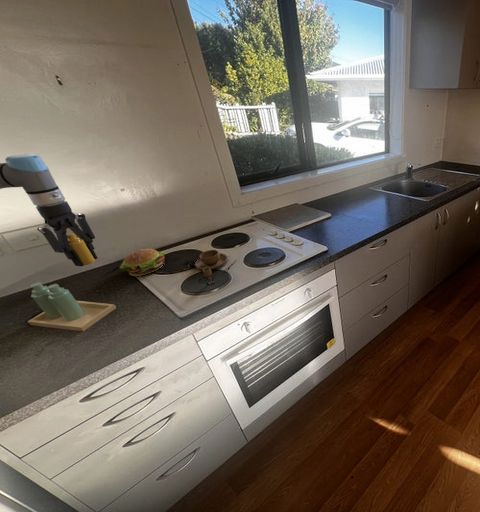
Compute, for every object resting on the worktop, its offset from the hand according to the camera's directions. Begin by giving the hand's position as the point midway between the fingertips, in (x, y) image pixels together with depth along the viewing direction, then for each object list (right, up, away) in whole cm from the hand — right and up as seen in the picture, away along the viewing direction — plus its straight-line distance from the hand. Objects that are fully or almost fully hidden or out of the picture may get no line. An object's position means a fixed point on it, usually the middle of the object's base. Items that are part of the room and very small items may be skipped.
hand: (86, 261), depth 109 cm
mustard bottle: (0, 0, 0) cm, 0 cm away
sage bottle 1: (+7, -17, -16) cm, 24 cm away
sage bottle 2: (+13, -17, -17) cm, 27 cm away
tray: (+13, -17, -16) cm, 27 cm away
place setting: (+41, -3, +7) cm, 42 cm away
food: (+16, -3, +8) cm, 18 cm away
